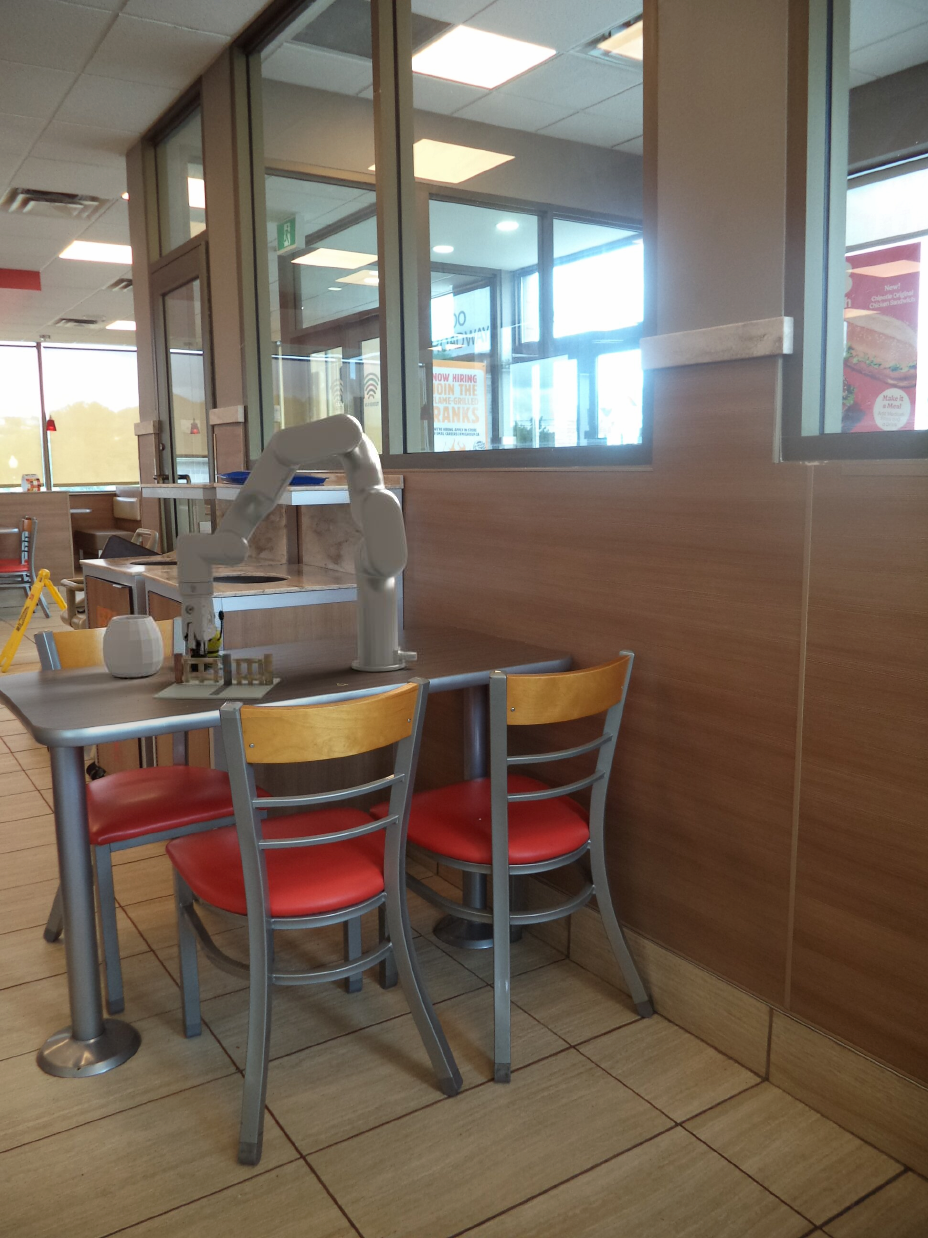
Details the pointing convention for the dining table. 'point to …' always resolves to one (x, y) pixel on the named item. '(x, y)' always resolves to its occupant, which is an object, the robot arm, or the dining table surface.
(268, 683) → the fence fixed
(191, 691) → the card
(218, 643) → the toy
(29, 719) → the dining table surface
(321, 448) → the robot arm
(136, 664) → the white faceted vase
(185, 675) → the fence wing
